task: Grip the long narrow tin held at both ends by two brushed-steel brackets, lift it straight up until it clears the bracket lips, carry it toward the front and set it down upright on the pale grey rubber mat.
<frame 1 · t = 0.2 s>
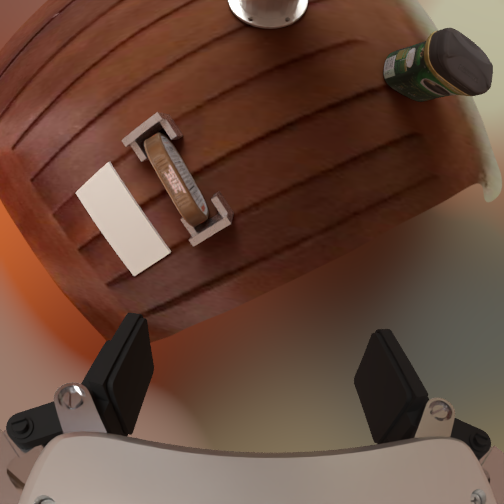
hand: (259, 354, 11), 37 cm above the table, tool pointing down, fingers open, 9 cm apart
tin: (184, 174, 44), on the table
coffee jar: (405, 76, 37), on the table
end brackets: (184, 174, 44), on the table
mat: (121, 220, 47), on the table
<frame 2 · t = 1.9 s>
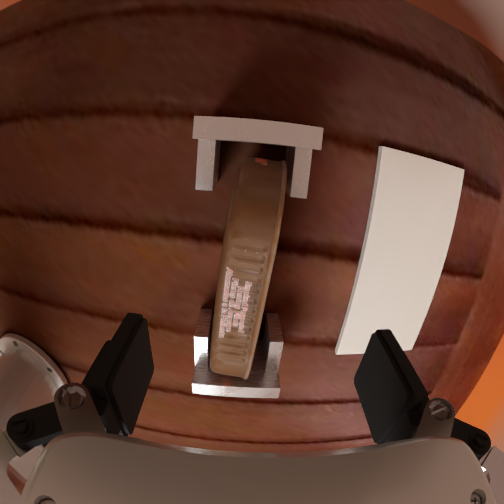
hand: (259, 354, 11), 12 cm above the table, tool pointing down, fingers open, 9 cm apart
tin: (244, 251, 23), on the table
end brackets: (244, 252, 22), on the table
mat: (403, 264, 23), on the table
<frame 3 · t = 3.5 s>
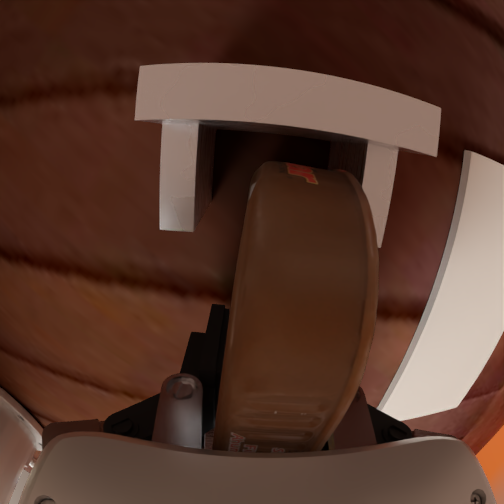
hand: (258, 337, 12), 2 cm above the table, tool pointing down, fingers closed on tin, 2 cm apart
tin: (252, 312, 14), on the table, touching gripper
end brackets: (255, 314, 14), on the table
mat: (470, 315, 14), on the table
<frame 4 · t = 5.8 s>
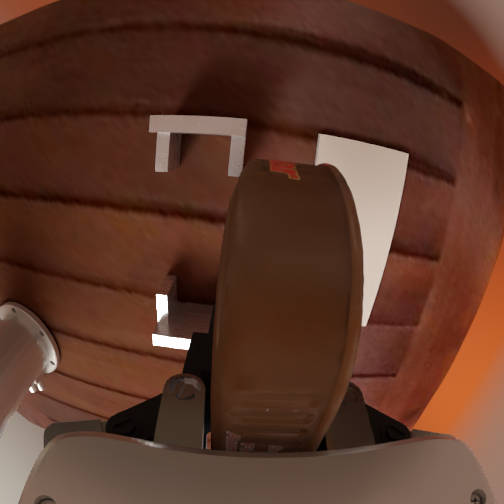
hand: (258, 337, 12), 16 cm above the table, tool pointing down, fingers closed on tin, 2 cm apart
tin: (251, 311, 14), point 14 cm above the table, touching gripper
end brackets: (201, 226, 26), on the table
mat: (348, 240, 27), on the table
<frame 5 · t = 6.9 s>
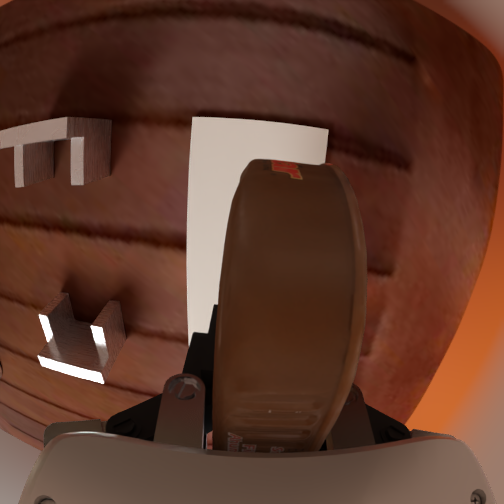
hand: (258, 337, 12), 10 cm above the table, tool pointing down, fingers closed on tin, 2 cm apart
tin: (252, 311, 14), point 8 cm above the table, touching gripper
end brackets: (79, 240, 21), on the table
mat: (248, 253, 22), on the table
when the fingers open (3 cm above the table, at t = 8.0 s): tin stays where it is, resting on mat.
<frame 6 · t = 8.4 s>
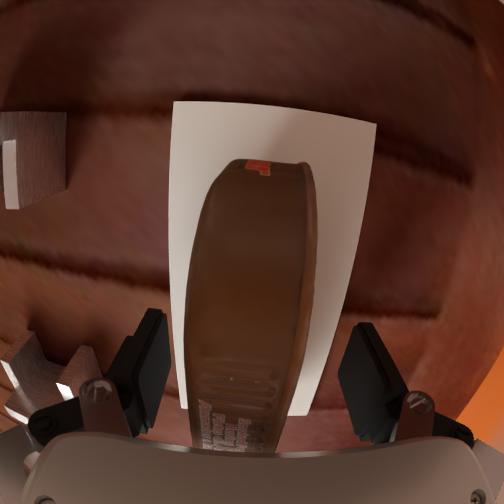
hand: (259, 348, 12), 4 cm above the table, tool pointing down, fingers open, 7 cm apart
tin: (246, 302, 15), resting on mat
end brackets: (38, 272, 15), on the table
mat: (257, 298, 15), on the table
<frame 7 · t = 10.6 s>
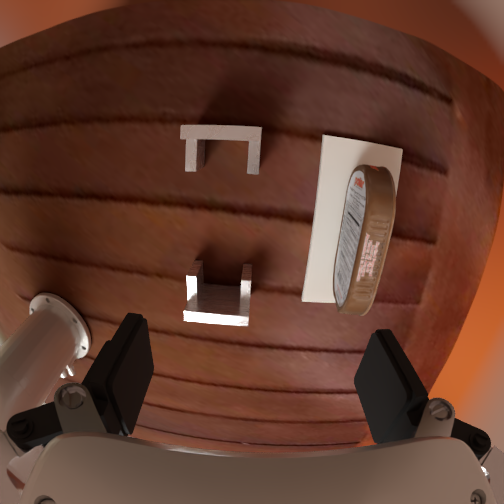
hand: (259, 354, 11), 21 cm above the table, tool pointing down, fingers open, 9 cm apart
tin: (347, 228, 31), resting on mat
end brackets: (224, 216, 31), on the table
mat: (352, 226, 31), on the table
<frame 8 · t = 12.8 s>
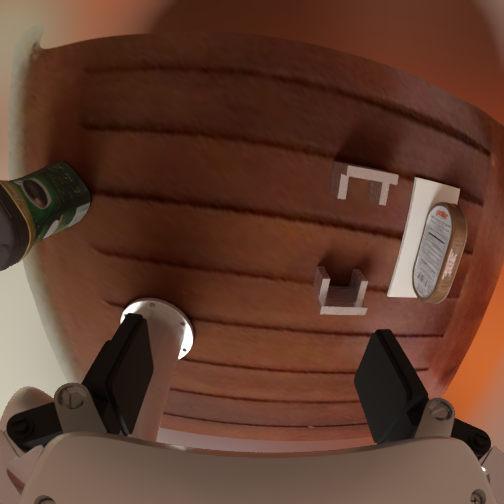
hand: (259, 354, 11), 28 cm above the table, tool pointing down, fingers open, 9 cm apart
tin: (423, 243, 39), resting on mat
coffee jar: (68, 193, 37), on the table
end brackets: (345, 232, 39), on the table
mat: (425, 241, 39), on the table
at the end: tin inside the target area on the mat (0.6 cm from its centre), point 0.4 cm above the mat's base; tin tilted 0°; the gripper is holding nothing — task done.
